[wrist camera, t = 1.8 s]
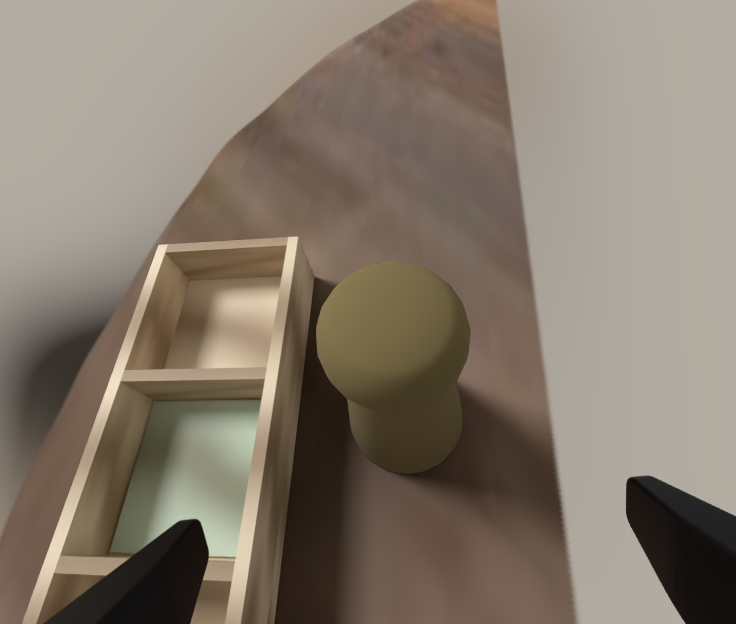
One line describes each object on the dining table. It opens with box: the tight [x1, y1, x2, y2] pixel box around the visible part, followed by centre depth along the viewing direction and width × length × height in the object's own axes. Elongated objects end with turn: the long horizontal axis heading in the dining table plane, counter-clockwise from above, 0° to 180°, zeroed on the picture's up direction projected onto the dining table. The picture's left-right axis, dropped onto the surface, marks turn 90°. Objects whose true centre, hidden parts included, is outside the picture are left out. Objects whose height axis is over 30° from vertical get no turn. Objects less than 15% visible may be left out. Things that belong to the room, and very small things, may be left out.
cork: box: [316, 262, 470, 474], centre depth 17 cm, size 6×6×11 cm
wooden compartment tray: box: [22, 237, 315, 624], centre depth 20 cm, size 25×9×4 cm, turn 178°
